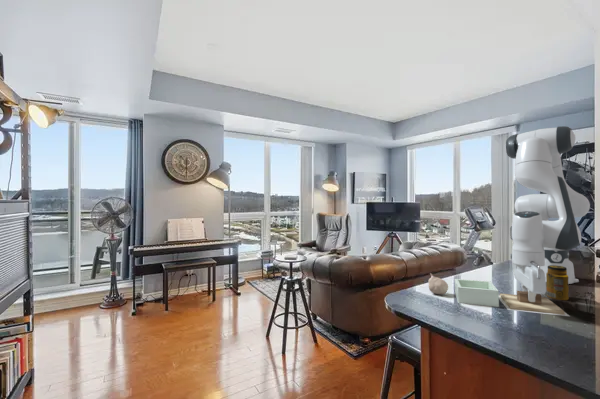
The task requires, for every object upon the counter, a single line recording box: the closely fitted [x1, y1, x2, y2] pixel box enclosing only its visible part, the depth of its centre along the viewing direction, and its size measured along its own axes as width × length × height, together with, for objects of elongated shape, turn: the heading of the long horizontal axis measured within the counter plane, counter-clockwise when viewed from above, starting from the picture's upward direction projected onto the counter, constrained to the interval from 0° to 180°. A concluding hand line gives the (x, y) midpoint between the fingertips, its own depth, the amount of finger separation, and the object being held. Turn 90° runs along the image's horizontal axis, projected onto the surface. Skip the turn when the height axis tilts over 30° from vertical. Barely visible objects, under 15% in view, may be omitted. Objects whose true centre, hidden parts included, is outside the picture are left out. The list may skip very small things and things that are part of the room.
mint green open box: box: [454, 278, 500, 308], centre depth 105 cm, size 12×12×6 cm
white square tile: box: [499, 294, 570, 317], centre depth 99 cm, size 16×16×1 cm
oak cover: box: [499, 290, 566, 315], centre depth 99 cm, size 14×14×4 cm
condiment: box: [546, 265, 570, 301], centre depth 105 cm, size 7×8×12 cm
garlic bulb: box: [427, 272, 449, 295], centre depth 114 cm, size 7×6×8 cm
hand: (529, 299), depth 99 cm, fingers closed on oak cover, 3 cm apart
